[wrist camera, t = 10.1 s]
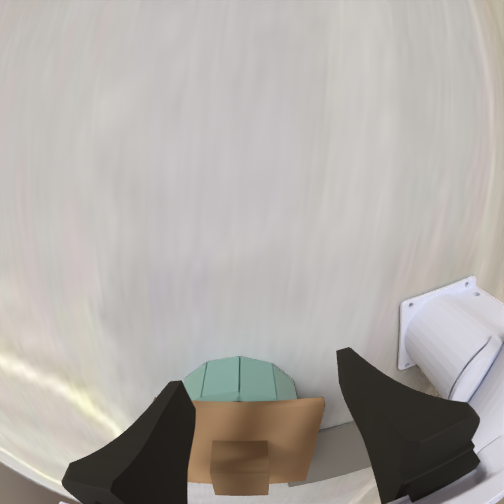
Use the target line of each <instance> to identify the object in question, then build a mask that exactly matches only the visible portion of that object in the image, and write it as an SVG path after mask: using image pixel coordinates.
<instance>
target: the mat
mask: <svg viewBox="0 0 504 504" xmlns="http://www.w3.org/2000/svg"><path fill="white" fill-rule="evenodd" d="M370 466H372V465H371V462H370V459H369V455H368V452H367V449H366V446H365V443H364V440H363V438H362V436H361V433H360V431H359V429H358V427H357V425H356V423H355V421H353V422H349V423H346V424H342V425H339V426H335V427H332V428H328V429H324V430H320V431H319V433H318V437H317V441H316V445H315V449H314V452H313V456H312V460H311V463H310V467H309V470H308V474H307V477H306V480H305V481H298V482H288V485H289V487H292V486H297V485H303V484H307V483H312V482H317V481H321V480H325V479H329V478H333V477H337V476H341V475H344V474H348V473H351V472H355V471H358V470H361V469H364V468H367V467H370Z"/></svg>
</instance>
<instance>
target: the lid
mask: <svg viewBox="0 0 504 504" xmlns="http://www.w3.org/2000/svg"><path fill="white" fill-rule="evenodd" d="M155 399H156V397H155V398H154V400H155ZM191 401H192V402H193V404H194V406H195V408H196V424H195V432H194V438H193V443H192V449H191V454H190V460H189V466H188V482H195V483H209V484H213V488H214V491H215V495H230V496H252V495H268V490H269V484H273V483H287V482H298V481H305V480H306V477H307V474H308V470H309V467H310V463H311V460H312V456H313V452H314V449H315V445H316V441H317V437H318V433H319V429H320V424H321V420H322V416H323V411H324V407H325V401H324V398H323V397H315V398H305V399H292V400H276V401H243V402H228V401H195V400H191Z"/></svg>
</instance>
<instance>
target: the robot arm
mask: <svg viewBox="0 0 504 504" xmlns="http://www.w3.org/2000/svg"><path fill="white" fill-rule="evenodd" d="M410 303H411V305H410V306H409V304H410ZM336 352H337V364H338V377H339V384H340V388H341V391H342V394H343V397H344V400H345V402H346V404H347V406H348V408H349V410H350V412H351V415H352V417H353V419H354V421H355V423H356V425H357V427H358V429H359V431H360V433H361V436H362V438H363V440H364V443H365V446H366V449H367V452H368V455H369V459H370V462H371V465H372V469H373V472H374V476H375V479H376V483H377V487H378V491H379V495H380V499H381V504H495V503H496V502H498V501H499V500H500V499H502V498H503V497H504V303H502V302H500V301H499V300H497V299H496V298H494V297H493V296H491V295H490V294H488V293H486V292H485V291H483V290H482V289H480V288H478V287H477V286H476V277H474V276H471V277H468V278H466V279H463V280H461V281H458V282H455V283H453V284H450V285H448V286H445V287H442V288H439V289H437V290H434V291H431V292H428V293H426V294H423V295H420V296H417V297H414V298H411V299H408V300H405V301H403V302H402V303H401V305H400V332H399V352H398V366H397V367H398V369H399V370H404V369H407V368H409V367H412V366H414V365H418V366H419V368H420V369H421V370H422V372H423V373H424V374H425V376H426V377H427V378H428V379H429V381H430V382H431V383H432V385H433V386H434V387H435V389H436V390H437V391H438V393H439V394H440V395H441V397H442V398H438V397H434V396H431V395H427V394H425V393H422V392H419V391H416V390H414V389H411V388H409V387H407V386H405V385H403V384H401V383H399V382H397V381H395V380H393V379H392V378H390V377H388V376H387V375H385V374H384V373H382V372H381V371H379V370H378V369H376V368H375V367H374V366H372V365H371V364H370V363H368V362H367V361H366V360H364V359H363V358H362V357H361V356H360V355H358V354H357V353H356V352H355V351H354V350H353V349H351V348H350V347H348V348H345V349H341V350H338V351H336ZM195 424H196V408H195V406H194V404H193V402H192V401H191V399H190V397H189V395H188V393H187V391H186V388H185V386H184V384H183V382H182V380H181V381H171V382H169V383H168V384H167V386H166V387H165V388H164V389H163V390H162V392H161V393H160V394H159V395H158V397H157V398H156V399H155V400H154V401H153V403H152V404H151V405H150V406H149V407H148V409H147V410H146V411H145V412H144V413H143V414H142V415H141V416H140V417H139V418H138V419H137V420H136V421H135V422H134V423H133V424H132V425H131V426H130V427H129V428H128V429H127V430H126V431H125V432H123V433H122V434H121V435H120V436H119V437H117V438H116V439H114V440H113V441H112V442H110V443H109V444H107V445H106V446H104V447H103V448H101V449H99V450H98V451H96V452H94V453H92V454H90V455H88V456H86V457H84V458H82V459H79V460H77V461H74V462H72V463H70V464H69V466H68V468H67V471H66V473H65V475H64V477H63V479H62V485H63V487H64V488H65V489H66V490H67V491H68V492H69V493H70V494H71V495H73V496H74V497H75V498H76V499H78V500H79V501H80V502H81V503H83V504H188V503H187V482H188V466H189V460H190V454H191V449H192V443H193V438H194V432H195ZM59 504H68V503H65V502H62V501H61V502H60V503H59Z"/></svg>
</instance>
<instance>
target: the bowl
mask: <svg viewBox="0 0 504 504" xmlns="http://www.w3.org/2000/svg"><path fill="white" fill-rule="evenodd" d="M184 386H185V388H186V391H187V393H188V395H189V397H190V399H191V400H195V401H228V402H243V401H276V400H292V399H297V395H296V390H295V386H294V381H293V380H292V379H291V378H290V377H289V376H287V375H286V374H285V373H284V372H282V371H281V370H280V369H279V368H278V367H276V366H275V365H274V364H272V363H268V362H264V361H259V360H255V359H250V358H246V357H242V356H241V357H240V358H239V356H238V357H232V358H226V359H220V360H214V361H208V363H207V362H206V363H204V364H203V365H202V366H200V367H199V368H198V369H196V370H195V371H194V372H192V373H191V374H190V375H188V376H187V377H186V378H185V382H184Z"/></svg>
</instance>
